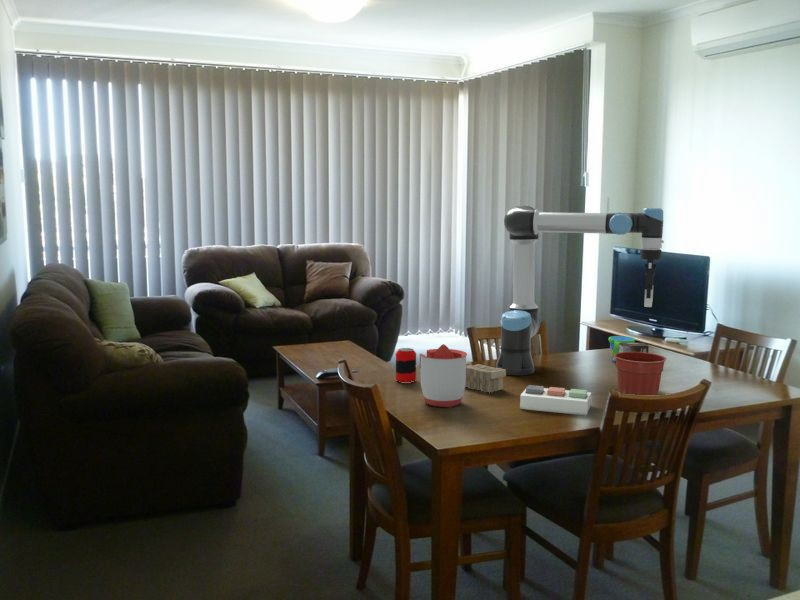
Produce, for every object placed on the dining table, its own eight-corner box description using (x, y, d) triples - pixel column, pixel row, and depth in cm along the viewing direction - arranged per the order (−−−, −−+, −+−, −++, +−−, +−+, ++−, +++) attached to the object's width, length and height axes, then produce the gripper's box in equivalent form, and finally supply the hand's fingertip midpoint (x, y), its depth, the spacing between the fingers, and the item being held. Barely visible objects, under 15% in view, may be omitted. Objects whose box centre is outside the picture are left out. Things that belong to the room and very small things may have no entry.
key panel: (520, 408, 243) (520, 395, 242) (527, 399, 254) (527, 386, 254) (586, 415, 236) (587, 401, 235) (590, 405, 247) (591, 392, 246)
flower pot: (672, 403, 249) (675, 356, 247) (649, 413, 238) (651, 364, 236) (627, 394, 261) (629, 349, 259) (602, 403, 249) (604, 356, 247)
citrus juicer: (426, 394, 261) (426, 337, 258) (473, 400, 253) (473, 342, 251) (407, 405, 247) (407, 345, 244) (456, 411, 239) (457, 350, 237)
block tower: (432, 382, 283) (491, 394, 261) (432, 360, 282) (491, 370, 260) (447, 378, 288) (506, 390, 267) (446, 357, 287) (506, 367, 266)
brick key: (547, 399, 243) (547, 390, 243) (549, 395, 248) (549, 386, 247) (562, 400, 241) (562, 391, 241) (564, 397, 246) (565, 388, 246)
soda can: (420, 380, 280) (420, 349, 278) (406, 384, 274) (406, 352, 273) (405, 377, 285) (405, 346, 283) (391, 381, 279) (391, 349, 278)
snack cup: (625, 366, 304) (626, 342, 302) (601, 363, 310) (602, 339, 309) (640, 360, 316) (641, 336, 315) (616, 357, 322) (617, 334, 321)
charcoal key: (525, 397, 245) (525, 388, 245) (528, 393, 250) (528, 385, 250) (540, 398, 244) (541, 389, 243) (543, 395, 248) (543, 386, 248)
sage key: (568, 401, 241) (569, 392, 240) (571, 397, 245) (571, 388, 245) (584, 403, 239) (585, 393, 238) (586, 399, 244) (586, 390, 243)
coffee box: (642, 385, 274) (644, 342, 272) (647, 389, 267) (649, 345, 265) (617, 385, 274) (619, 342, 272) (621, 389, 268) (623, 345, 266)
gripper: (661, 251, 270) (658, 309, 273) (661, 247, 293) (659, 300, 296) (639, 250, 273) (636, 308, 276) (641, 246, 296) (639, 299, 299)
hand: (648, 304), depth 286 cm, fingers open, 13 cm apart
